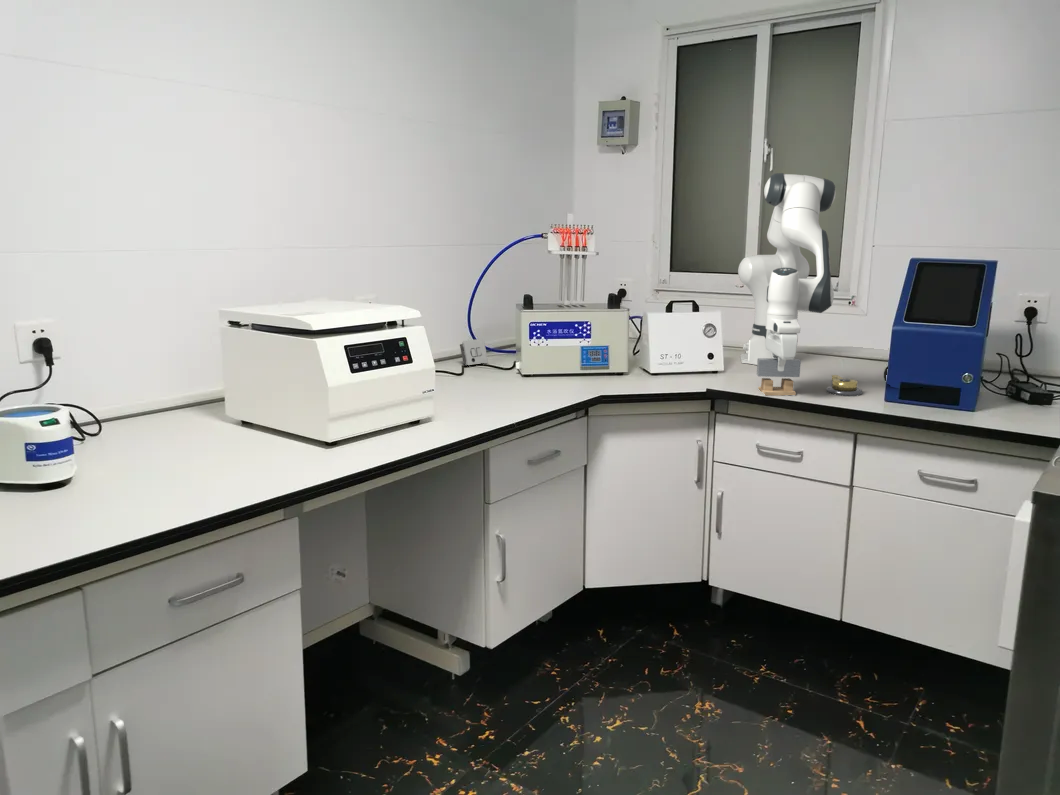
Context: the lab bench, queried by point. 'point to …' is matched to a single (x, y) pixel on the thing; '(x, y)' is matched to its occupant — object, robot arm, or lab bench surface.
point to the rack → (783, 390)
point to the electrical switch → (473, 352)
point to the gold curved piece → (843, 383)
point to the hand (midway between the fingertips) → (778, 369)
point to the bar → (769, 368)
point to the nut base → (844, 392)
